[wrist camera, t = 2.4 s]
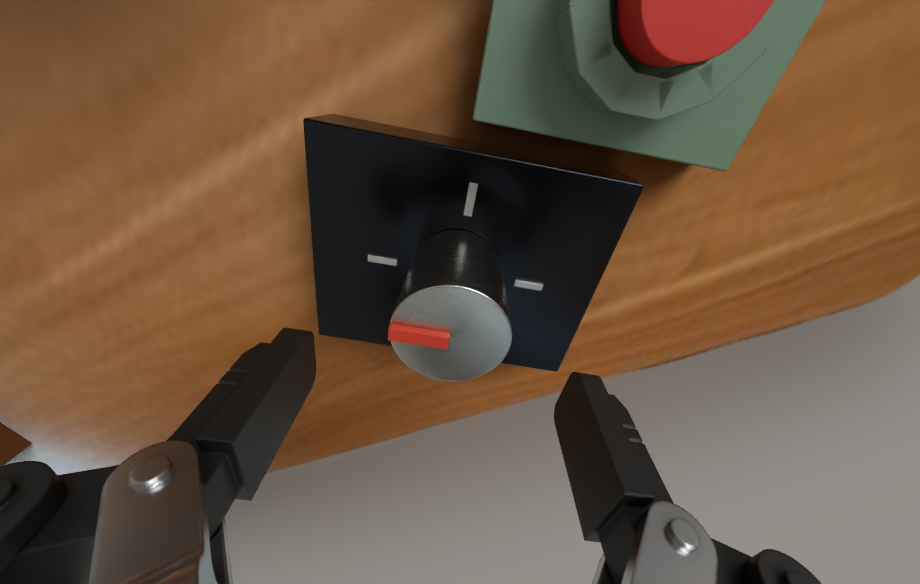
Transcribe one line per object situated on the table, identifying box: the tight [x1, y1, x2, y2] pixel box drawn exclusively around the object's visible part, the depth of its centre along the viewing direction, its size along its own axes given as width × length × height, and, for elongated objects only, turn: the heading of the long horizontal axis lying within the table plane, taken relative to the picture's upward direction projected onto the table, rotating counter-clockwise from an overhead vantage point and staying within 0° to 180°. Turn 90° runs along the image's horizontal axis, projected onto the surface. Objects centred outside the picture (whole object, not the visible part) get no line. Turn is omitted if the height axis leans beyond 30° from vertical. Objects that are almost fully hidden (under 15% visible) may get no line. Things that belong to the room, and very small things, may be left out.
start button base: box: [473, 0, 826, 171], centre depth 11 cm, size 11×9×4 cm
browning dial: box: [388, 230, 512, 381], centre depth 14 cm, size 4×4×5 cm
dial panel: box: [303, 114, 644, 371], centre depth 17 cm, size 14×11×3 cm
